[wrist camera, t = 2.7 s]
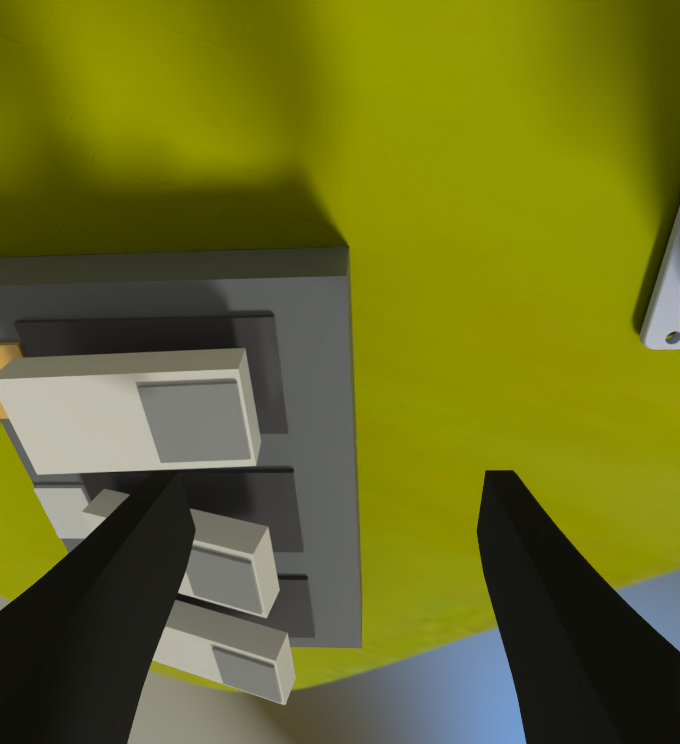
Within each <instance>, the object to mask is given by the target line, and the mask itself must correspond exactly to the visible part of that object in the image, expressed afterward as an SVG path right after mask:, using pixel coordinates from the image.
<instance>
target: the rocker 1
mask: <svg viewBox="0 0 680 744" xmlns="http://www.w3.org/2000/svg"><path fill="white" fill-rule="evenodd" d="M0 402H1V404H2V406H3V408H4V410H5V412H6V414H7V416H8V418H9V420H10V422H11V424H12V426H13V428H14V430H15V431H16V433H17V435H18V437H19V439H20V441H21V443H22V445H23V447H24V449H25V451H26V453H27V455H28V457H29V459H30V461H31V463H32V465H33V467H34V469H35V471H36V473H37V475H44V474H69V473H94V472H119V471H144V470H169V469H195V468H220V467H245V466H256V465H257V460H258V455H259V450H260V444H261V438H260V432H259V426H258V420H257V414H256V408H255V402H254V396H253V391H252V385H251V379H250V373H249V367H248V361H247V355H246V349H245V348H232V349H209V350H187V351H164V352H141V353H119V354H96V355H74V356H51V357H28V358H13V359H12V360H11V361H10V362H9V363H7V364H6V365H5V366H4V367H3V368H2V369H1V370H0Z"/></svg>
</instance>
